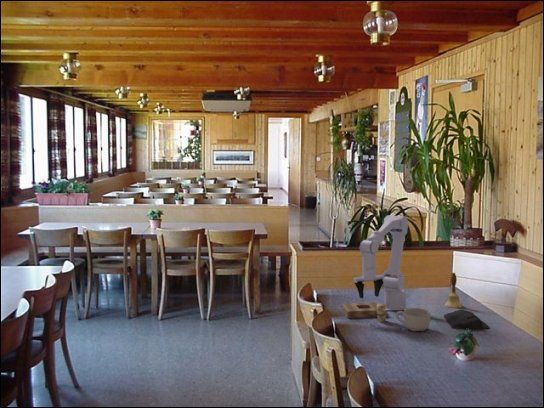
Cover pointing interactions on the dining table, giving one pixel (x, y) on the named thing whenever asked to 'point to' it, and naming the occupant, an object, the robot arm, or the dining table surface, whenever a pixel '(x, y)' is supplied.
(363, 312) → the board
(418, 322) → the teacup
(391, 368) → the dining table surface
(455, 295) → the hand bell
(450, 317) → the dark slate chunk
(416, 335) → the dining table surface
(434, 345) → the dining table surface
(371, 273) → the robot arm
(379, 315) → the peg
